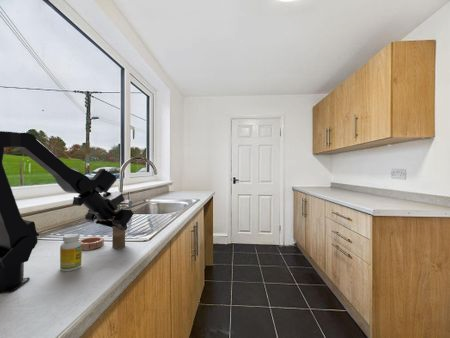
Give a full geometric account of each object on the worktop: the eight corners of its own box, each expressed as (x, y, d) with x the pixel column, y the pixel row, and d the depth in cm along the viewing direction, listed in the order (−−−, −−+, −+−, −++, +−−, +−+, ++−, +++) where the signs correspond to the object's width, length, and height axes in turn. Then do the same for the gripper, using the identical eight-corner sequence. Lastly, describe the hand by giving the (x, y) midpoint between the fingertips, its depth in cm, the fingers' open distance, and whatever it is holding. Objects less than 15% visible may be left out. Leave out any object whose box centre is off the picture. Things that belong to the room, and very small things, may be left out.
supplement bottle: (64, 265, 72) (64, 233, 72) (84, 263, 74) (84, 232, 74) (56, 272, 67) (57, 238, 67) (77, 270, 68) (78, 237, 68)
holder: (98, 249, 86) (99, 243, 86) (73, 250, 85) (73, 244, 85) (106, 242, 95) (107, 236, 95) (83, 242, 93) (83, 237, 93)
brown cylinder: (123, 248, 88) (123, 217, 88) (110, 248, 87) (111, 217, 87) (126, 244, 92) (126, 214, 92) (114, 245, 91) (114, 215, 91)
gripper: (129, 186, 82) (151, 213, 92) (93, 184, 90) (117, 209, 100) (109, 213, 75) (136, 238, 85) (71, 208, 83) (100, 232, 93)
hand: (122, 228), depth 91 cm, fingers closed on brown cylinder, 4 cm apart
